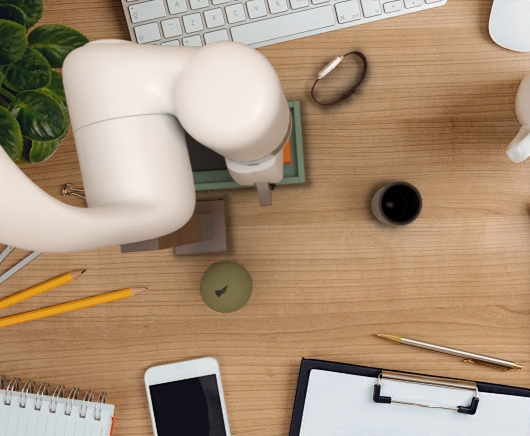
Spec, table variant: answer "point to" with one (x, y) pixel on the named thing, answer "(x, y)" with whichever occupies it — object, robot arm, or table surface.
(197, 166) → the pad
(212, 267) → the green pear
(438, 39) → the table surface
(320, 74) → the watch
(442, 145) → the table surface
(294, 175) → the holder
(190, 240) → the stand
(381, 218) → the planter
